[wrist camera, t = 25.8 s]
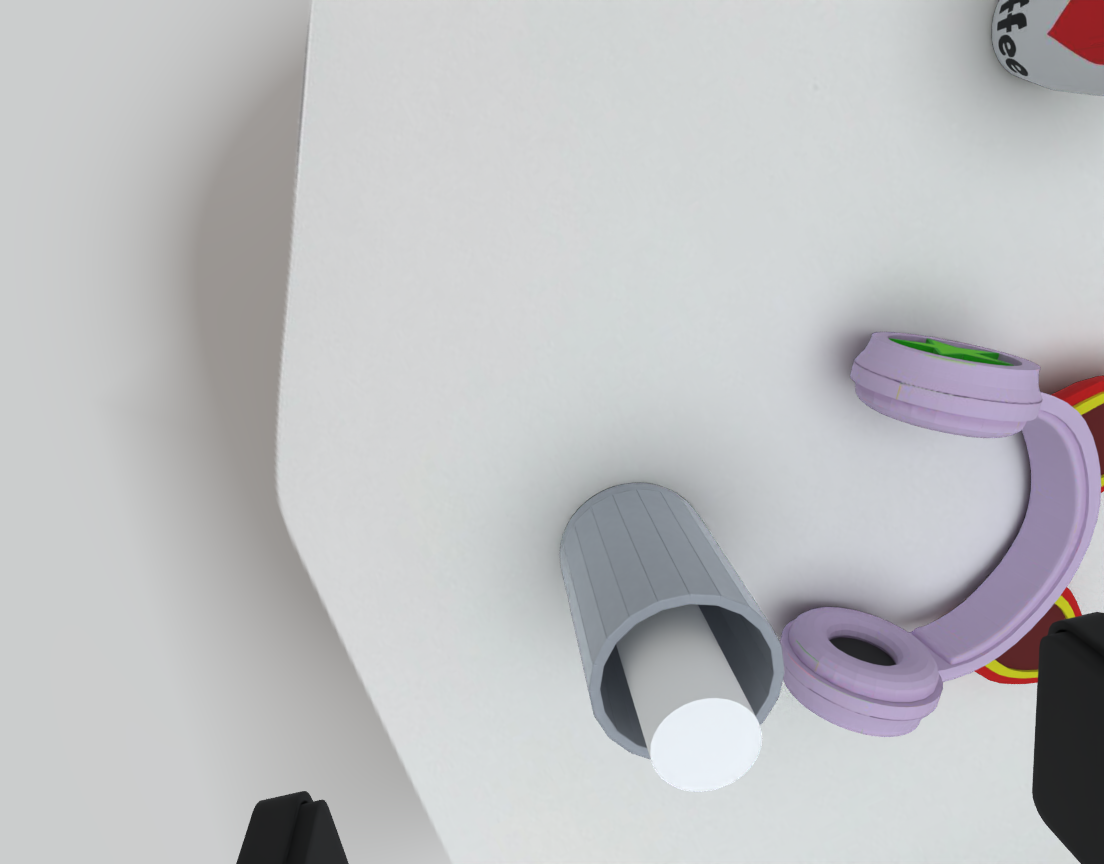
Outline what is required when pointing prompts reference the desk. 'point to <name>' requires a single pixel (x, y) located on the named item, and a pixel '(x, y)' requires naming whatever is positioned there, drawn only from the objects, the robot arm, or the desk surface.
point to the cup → (1052, 43)
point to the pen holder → (656, 597)
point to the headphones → (1015, 584)
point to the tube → (688, 701)
